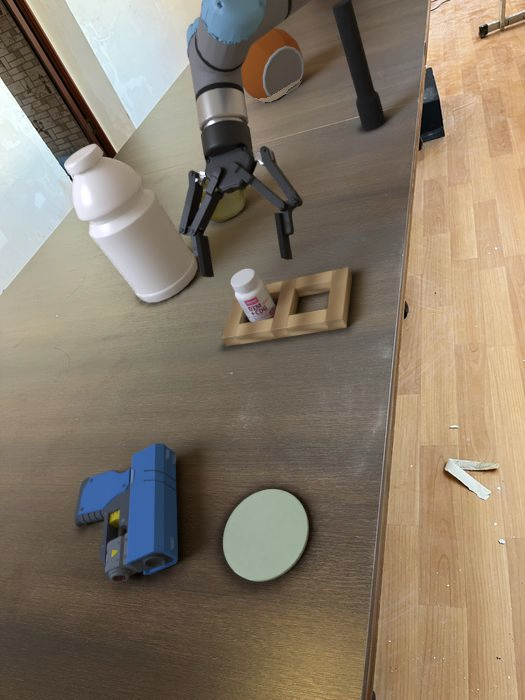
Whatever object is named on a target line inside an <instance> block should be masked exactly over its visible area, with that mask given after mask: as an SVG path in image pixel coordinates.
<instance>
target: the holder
mask: <svg viewBox="0 0 525 700" xmlns="http://www.w3.org/2000/svg"><path fill="white" fill-rule="evenodd" d="M352 282H353V275H352V272H351V270H350V267H349V266H346V267H342V268H337V269H333V270H328V271H323V272H318V273H313V274H309V275H303V276H298V277H294V278H290V279H285V280H280V281H275V282H271V283H266V284H265V283H264V285H265V287H266V289H267V291H268V292H269V294H270V296H271V298H272V300H273V302H274V303H276V311H275V315H274V318H271V319H266V320H260V321H254V322H250V321H249V322H248V320H249V318H248V317H247V315H246V314H245V312H244V310H243V309H242V307H241V305H240V304H239V302H238V300H237V298H236V296H235V295H234V298H233V301H232V304H231V307H230V310H229V313H228V317H227V319H226V322H225V325H224V329H223V331H222V335H221V340H222V341H223V343H224V344H225V346H226V347H232V346H239V345H246V344H250V343H258V342H264V341H271V340H276V339H282V338H290V337H295V336H301V335H309V334H314V333H322V332H328V331H334V330H340V329H346V328H347V327H348V319H349V311H350V310H349V309H350V299H351V291H352ZM327 292H329V295H328V301H327V307H326V308H323V309H318V310H313V311H307V312H301V313H297V309H298V303H299V299H300V298H302V297H309V296H312V295H317V294H318V295H319V294H323V293H327Z"/></svg>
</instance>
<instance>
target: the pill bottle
mask: <svg viewBox="0 0 525 700" xmlns="http://www.w3.org/2000/svg"><path fill="white" fill-rule="evenodd" d="M230 285H231V286H232V289H233V291H234V297H235V296H236V298H237V300H238V302H239V304H240V305H241V307H242V309H243V310H244V312H245V314H246V315H247V317H248V320H249V322H254V321H260V320H266V319H271V318H274V315H275V311H276V307H277V305H276V304H275V302H273V300H272V298H271V296H270V294H269V292H268V291H267V289H266V287H265V283H264V281H263V280H262V278H259V277H258V274H257V273H256V271H255V270H254V269H252V268H244V269H241V270H239V271H237V272H236V273H234V275H233V276H232V277H231V279H230Z"/></svg>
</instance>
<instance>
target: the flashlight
mask: <svg viewBox="0 0 525 700" xmlns="http://www.w3.org/2000/svg"><path fill="white" fill-rule="evenodd" d="M331 9H332V13H333V16H334V20H335V23H336V27H337V30H338V34H339V37H340V41H341V44H342V48H343V53H344V55H345V59H346V62H347V65H348V69H349V73H350V76H351V80H352V85H353V88H354V90H355V94H356V101H355V105H356V106H355V107H356V110H357V114H358V117H359V120H360V121H359V122H360V123H361V128H362V130H364V131H372V130H375V129H378V128H380V127H381V126H382V125H384V124H385V121H386V117H385V113H384V108H383V105H382V102H381V101H382V100H381V98H380V95H379V92H377V91H376V90H375V87H374V83H373V80H372V75H371V71H370V67H369V64H368V60H367V56H366V51H365V47H364V45H363V40H362V36H361V32H360V28H359V24H358V21H357V16H356V12H355V9H354V5H353V0H340V1H338V2H336V3H335V4H333V5H332V7H331Z"/></svg>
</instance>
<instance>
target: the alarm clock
mask: <svg viewBox="0 0 525 700" xmlns="http://www.w3.org/2000/svg"><path fill="white" fill-rule="evenodd" d="M304 64H305V63H304V56H303V53H302V50H301V48H300V46H299V43H298V41H297V40H296V39H295V38H294V37H293V36H292V35H290V34H289V33H288V32H287V31H286V30H284V29H282V28H277V27H275V28H273V29H272V30H270V31H269V32H268V33H266V34H265V35H264V36H262V37H261V38H260V39H258V40H257V41H255V42H254V43H253V44H252V46H251V47H250V49H249V52H248V54H247V57H246V59H245V61H244V63H243V65H242V69H241V73H242V81H243V88H244V92H246V93H247V94H248V95H249V96H250V97H251V98H253V99H255V98H257V99H260V98H267V97H271V96H272V95H273V94H275V93H277V92H278V91H280V90H282V89H283V88H285V87H287V86H288V85H290V84H291V83H293V82H295V81H297V80H298V79H300V78H302V79H303V77H304V72H305V69H304V68H305V65H304ZM301 83H302V80H301V81H300V82H298V83H297V84H295V85H294V86H293V87H291V88H290V89H288V91H287V92H286V95H285V96H287V95H288V94H290V93H291V92H293V91H294V90H296V89H297V88H299V86H300V84H301Z"/></svg>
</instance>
